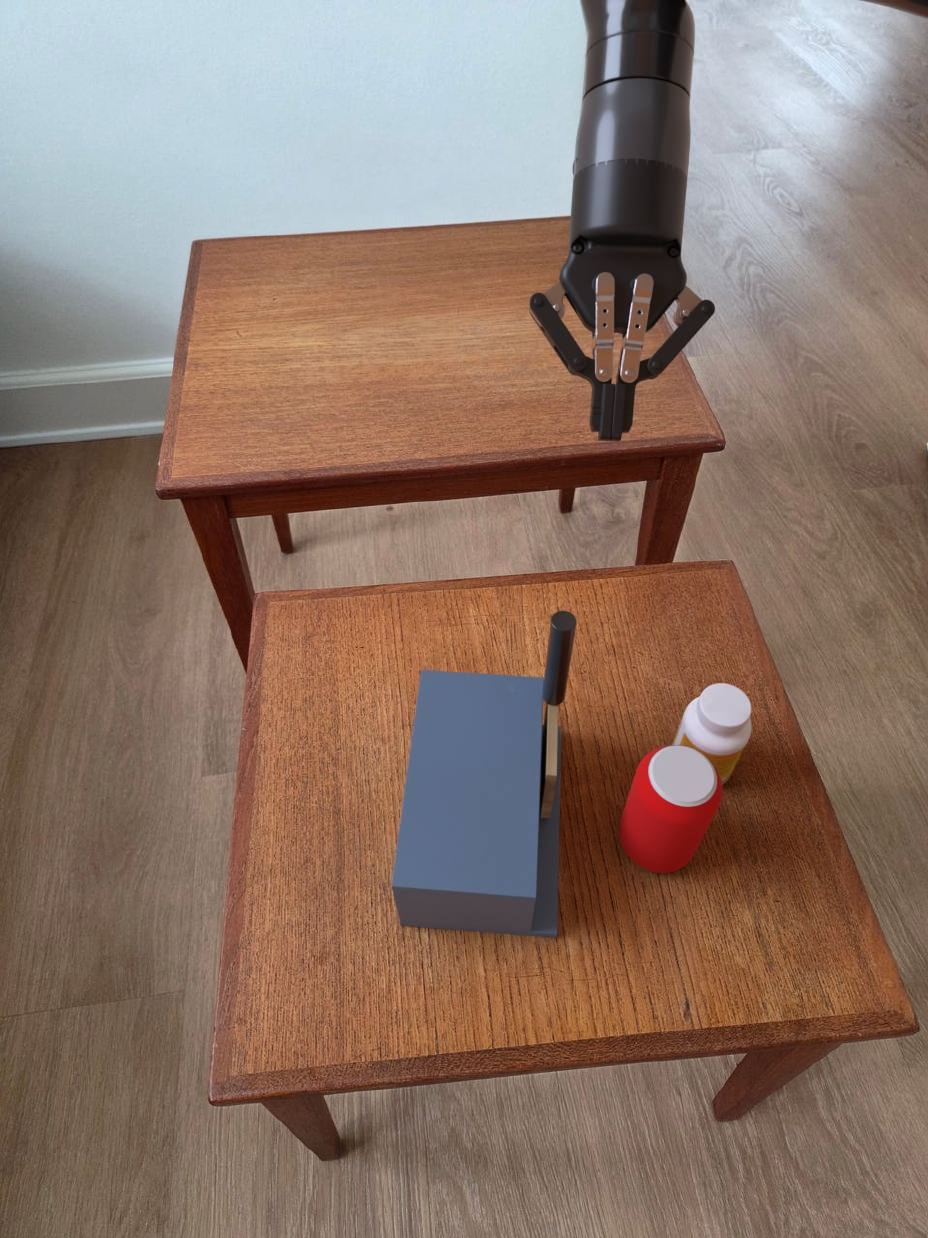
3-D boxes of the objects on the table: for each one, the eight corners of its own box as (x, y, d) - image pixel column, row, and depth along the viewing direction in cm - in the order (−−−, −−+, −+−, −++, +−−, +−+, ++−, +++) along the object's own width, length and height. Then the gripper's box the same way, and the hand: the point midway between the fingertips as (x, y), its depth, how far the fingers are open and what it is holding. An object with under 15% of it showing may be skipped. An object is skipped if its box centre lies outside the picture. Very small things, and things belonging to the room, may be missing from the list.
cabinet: (560, 731, 76) (568, 678, 69) (556, 938, 65) (565, 900, 58) (426, 722, 76) (421, 669, 69) (400, 925, 66) (391, 886, 59)
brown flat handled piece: (557, 729, 74) (576, 604, 60) (556, 819, 69) (576, 705, 55) (537, 727, 74) (551, 602, 60) (534, 817, 69) (548, 704, 55)
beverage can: (670, 893, 67) (702, 831, 57) (602, 848, 69) (622, 781, 59) (706, 834, 70) (743, 765, 60) (640, 792, 72) (665, 720, 62)
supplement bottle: (737, 791, 72) (768, 734, 64) (673, 792, 72) (697, 735, 64) (724, 734, 75) (753, 674, 67) (663, 736, 75) (685, 675, 67)
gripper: (531, 150, 53) (514, 431, 56) (745, 156, 53) (718, 441, 55) (530, 192, 61) (515, 439, 63) (717, 198, 60) (694, 448, 63)
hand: (609, 440), depth 59 cm, fingers closed
